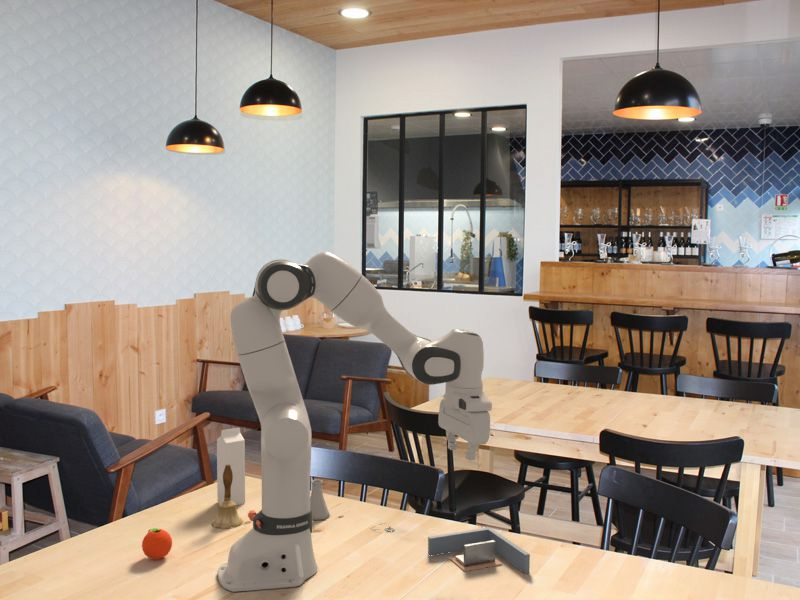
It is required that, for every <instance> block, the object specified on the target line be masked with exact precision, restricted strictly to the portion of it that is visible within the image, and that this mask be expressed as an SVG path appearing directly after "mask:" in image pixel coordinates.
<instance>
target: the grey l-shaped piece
mask: <svg viewBox="0 0 800 600" xmlns="http://www.w3.org/2000/svg"><path fill="white" fill-rule="evenodd" d="M427 540H428V541H427V542H428V543H427V555H428V554H429V555H430V556H429V555H428V556H429V557H432V556H431V555H435V556H438V555H437V554H441V553H447V554H449V553H448V552H453V553H457V551H459V552H464V545H467V544H474V543H480V542H486V541H492V540H494V541H495V554H498V555H499V556H500V557H501V558H502V559H504V560H506V562H508V563H510V565H512V566H514V567H515V568H516V569H518V570H519V571H521V572H522V573H523V574H530V568H531V567H530V565H531V564H530V556H531V555H530V553H529V552H528V551H526V550H524V549H522V548H521V547H520V546H518V545H517V544H515V542H512V541H511V540H509V539H508V538H507V537H505V536H504V535H502V534H501V533H500V532H498V531H496V530H495V529H493V528H492V527H483V528H476V529H470V530H464V531H457V532H450V533H445V534H438V535H437V534H436V535H431V536H428V537H427ZM441 555H442V554H441Z"/></svg>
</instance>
